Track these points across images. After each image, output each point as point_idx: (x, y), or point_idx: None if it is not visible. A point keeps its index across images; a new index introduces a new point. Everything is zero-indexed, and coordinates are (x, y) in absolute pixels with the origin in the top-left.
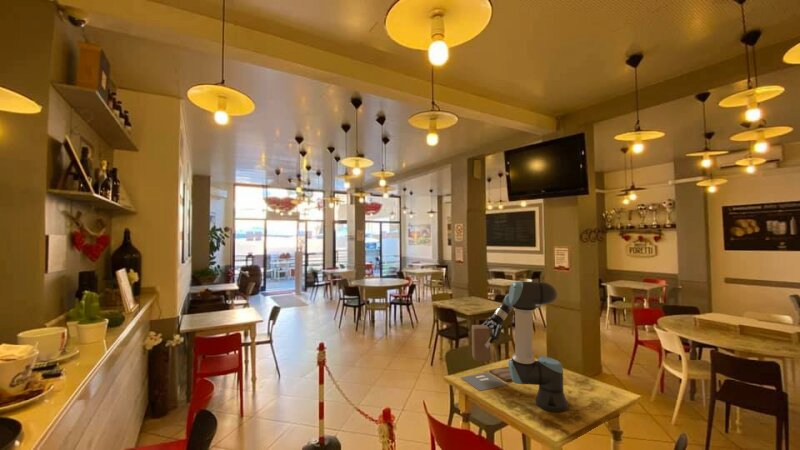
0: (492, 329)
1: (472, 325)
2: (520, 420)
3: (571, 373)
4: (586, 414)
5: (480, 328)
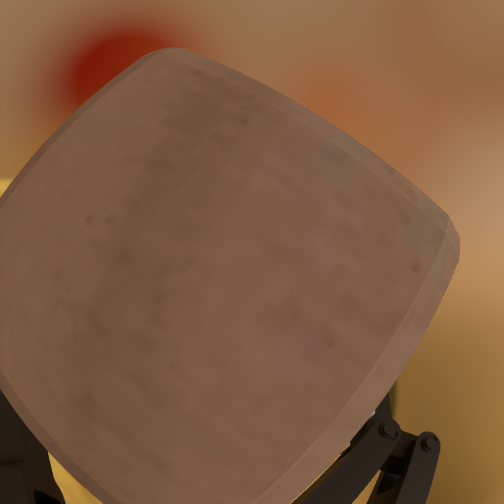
0: (17, 447)
1: (425, 199)
2: (12, 180)
3: None
4: None
5: (61, 128)
